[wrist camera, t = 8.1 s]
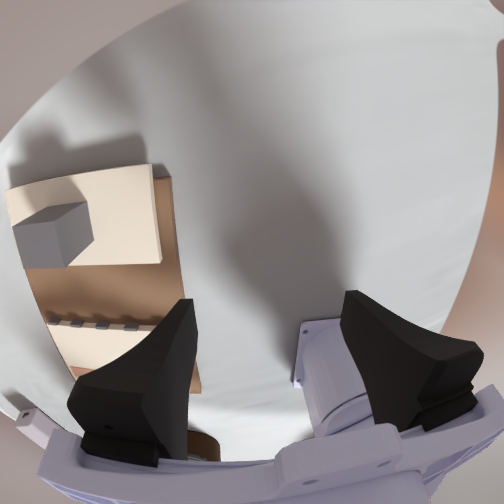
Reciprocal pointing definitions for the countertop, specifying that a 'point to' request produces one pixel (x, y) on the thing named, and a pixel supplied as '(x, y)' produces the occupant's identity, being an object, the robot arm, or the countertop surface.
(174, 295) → the board
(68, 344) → the ticket
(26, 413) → the charger
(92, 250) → the stub
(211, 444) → the olive oil
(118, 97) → the countertop surface
